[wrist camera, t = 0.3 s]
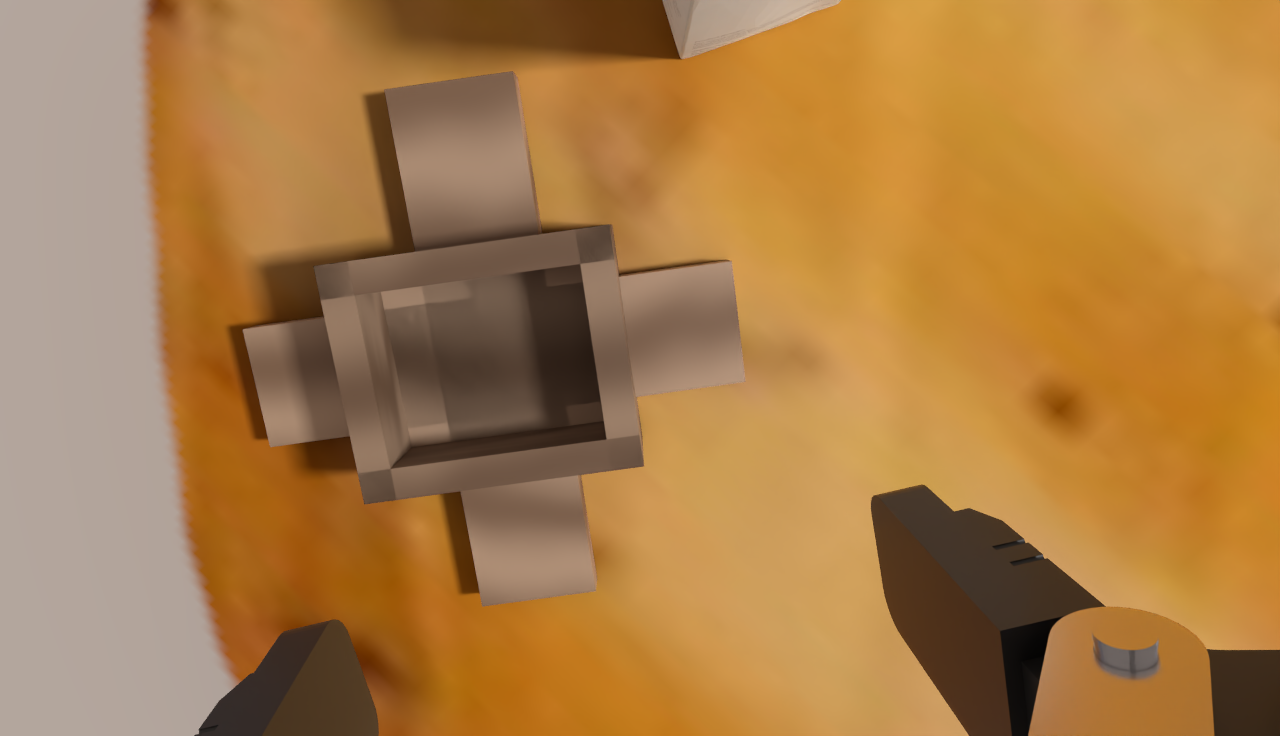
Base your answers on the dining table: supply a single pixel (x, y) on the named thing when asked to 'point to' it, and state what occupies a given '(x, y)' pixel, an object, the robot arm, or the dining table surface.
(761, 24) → the skincare box
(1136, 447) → the dining table surface
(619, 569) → the dining table surface
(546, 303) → the cross stand
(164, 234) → the dining table surface
